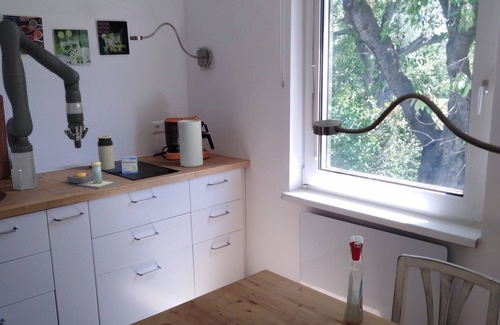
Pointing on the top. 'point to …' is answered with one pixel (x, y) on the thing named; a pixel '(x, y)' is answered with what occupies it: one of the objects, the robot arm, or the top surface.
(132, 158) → the medicine box
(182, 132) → the cylinder vase
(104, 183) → the picture board
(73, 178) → the button housing
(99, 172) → the teal bottle
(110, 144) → the travel mug
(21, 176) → the robot arm
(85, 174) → the button
